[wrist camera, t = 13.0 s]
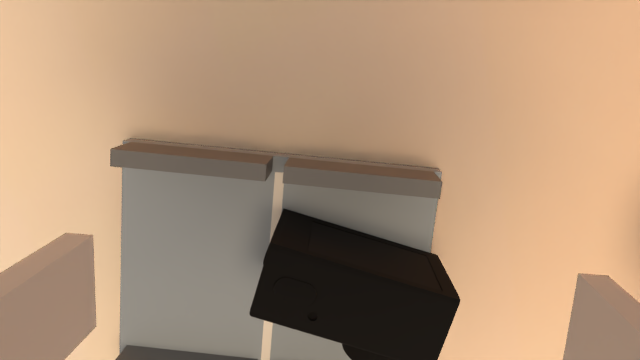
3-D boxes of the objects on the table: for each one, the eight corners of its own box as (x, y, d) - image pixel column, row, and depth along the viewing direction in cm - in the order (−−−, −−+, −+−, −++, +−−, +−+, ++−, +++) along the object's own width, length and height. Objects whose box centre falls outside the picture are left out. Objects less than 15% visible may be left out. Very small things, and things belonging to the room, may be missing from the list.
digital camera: (258, 284, 36) (239, 336, 29) (281, 207, 35) (267, 243, 28) (409, 329, 36) (426, 391, 29) (437, 254, 35) (461, 301, 28)
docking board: (438, 168, 35) (450, 182, 31) (403, 416, 39) (410, 458, 35) (130, 138, 35) (102, 148, 31) (125, 386, 39) (100, 424, 35)
